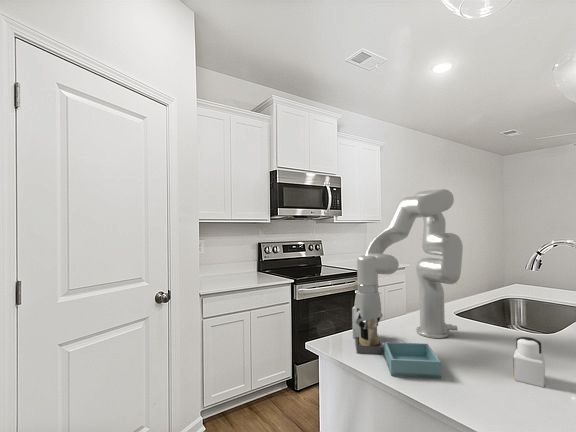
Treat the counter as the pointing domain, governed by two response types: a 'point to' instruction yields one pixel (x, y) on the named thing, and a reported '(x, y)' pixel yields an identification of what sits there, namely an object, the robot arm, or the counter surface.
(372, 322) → the strut
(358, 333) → the supplement box
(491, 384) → the counter surface
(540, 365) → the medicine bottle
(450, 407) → the counter surface
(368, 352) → the collar
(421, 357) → the bin
